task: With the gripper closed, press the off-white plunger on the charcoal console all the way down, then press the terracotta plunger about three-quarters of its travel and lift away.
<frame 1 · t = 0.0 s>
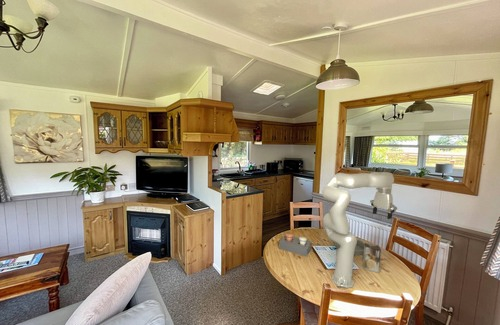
hand: (381, 216, 139), 37 cm above the table, tool pointing down, fingers open, 9 cm apart
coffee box: (370, 268, 143), on the table
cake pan: (349, 248, 170), on the table
plunger white: (302, 241, 162), point 7 cm above the table, slide at 0.0 cm
plunger terracotta: (289, 238, 168), point 7 cm above the table, slide at 0.0 cm
console: (295, 248, 166), on the table
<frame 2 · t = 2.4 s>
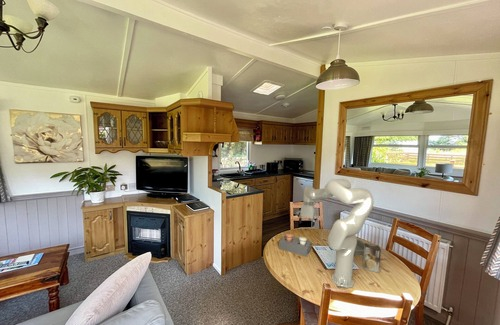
hand: (306, 224, 160), 21 cm above the table, tool pointing down, fingers open, 9 cm apart
nothing on the table moved.
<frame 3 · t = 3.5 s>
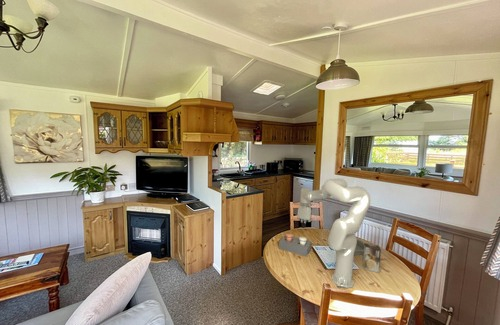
hand: (303, 227, 161), 19 cm above the table, tool pointing down, fingers closed
nothing on the table moved.
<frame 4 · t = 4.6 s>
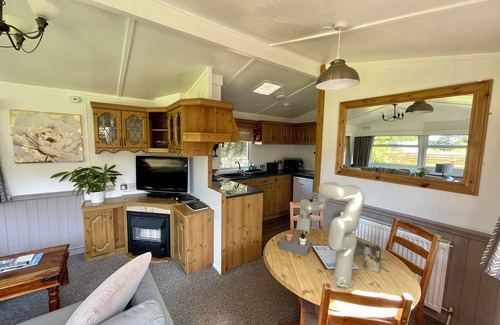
hand: (302, 238, 162), 10 cm above the table, tool pointing down, fingers closed
plunger white: (302, 242, 162), point 7 cm above the table, slide at 0.4 cm, touching gripper
everything else where it was.
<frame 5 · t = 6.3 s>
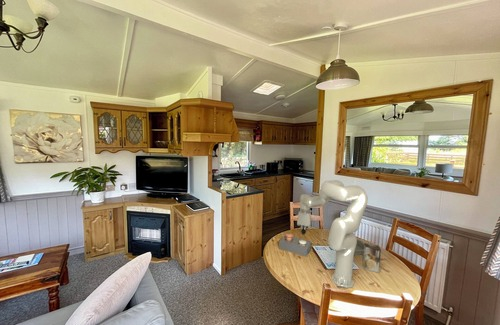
hand: (303, 233, 161), 14 cm above the table, tool pointing down, fingers closed
plunger white: (302, 245, 162), point 4 cm above the table, slide at 2.7 cm
everything else where it was.
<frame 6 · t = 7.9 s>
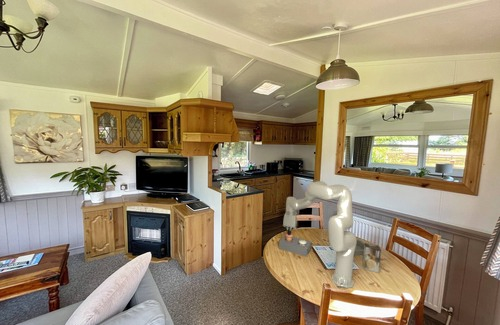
hand: (289, 234, 167), 10 cm above the table, tool pointing down, fingers closed
plunger terracotta: (289, 238, 168), point 7 cm above the table, slide at 0.1 cm, touching gripper
everything else where it was.
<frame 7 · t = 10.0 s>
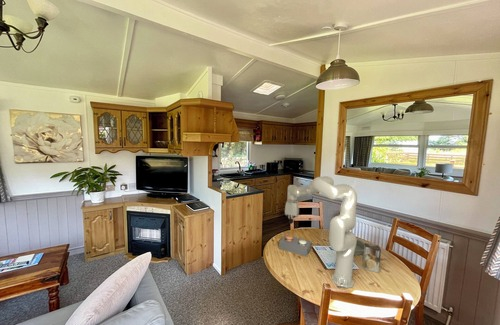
hand: (290, 223, 166), 20 cm above the table, tool pointing down, fingers closed
plunger terracotta: (289, 240, 168), point 5 cm above the table, slide at 1.9 cm
everything else where it was.
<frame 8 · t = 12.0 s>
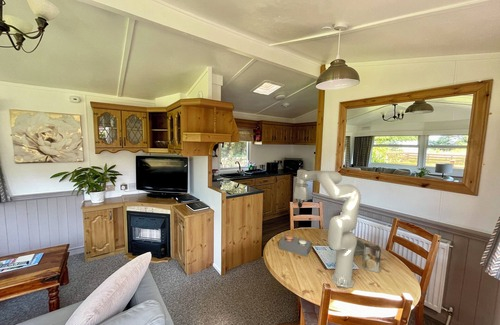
hand: (299, 207, 167), 32 cm above the table, tool pointing down, fingers closed
nothing on the table moved.
at the end: plunger white slide at 2.7 cm; plunger terracotta slide at 1.9 cm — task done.
